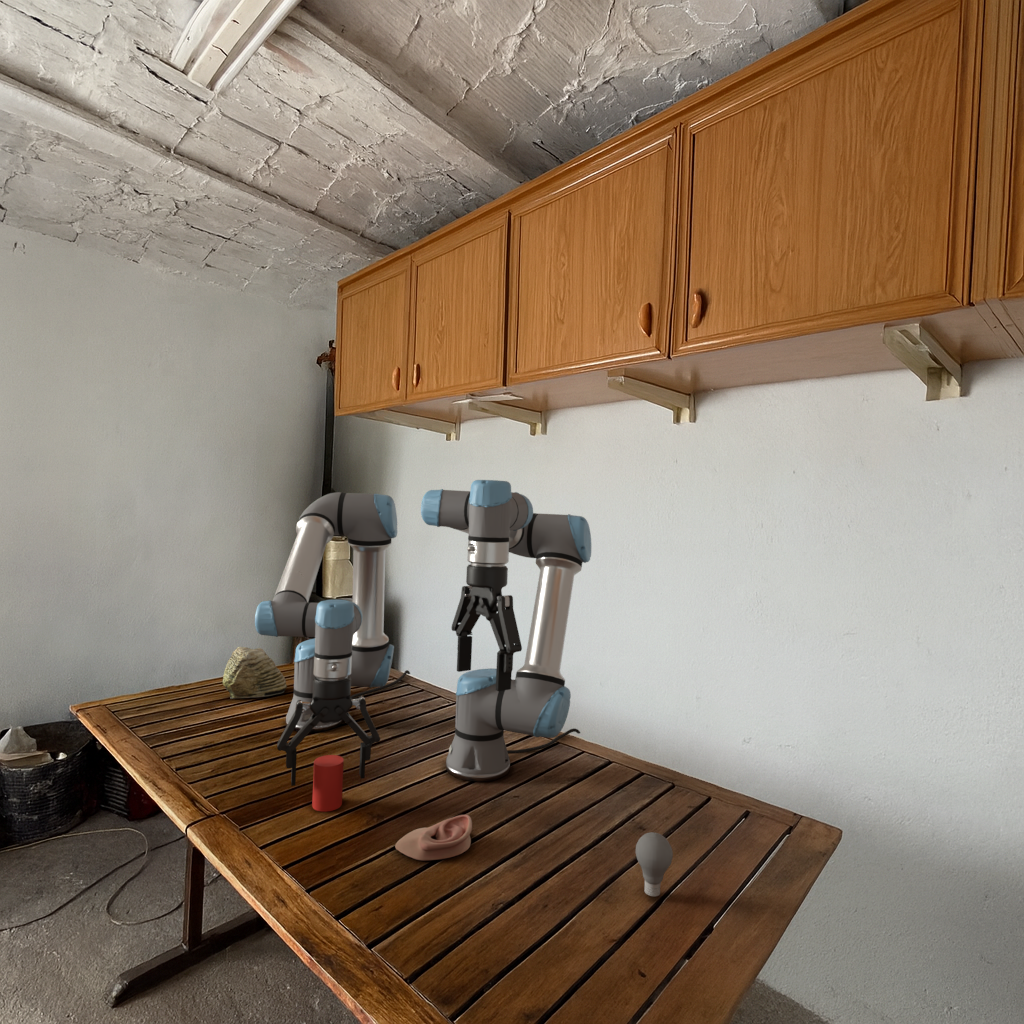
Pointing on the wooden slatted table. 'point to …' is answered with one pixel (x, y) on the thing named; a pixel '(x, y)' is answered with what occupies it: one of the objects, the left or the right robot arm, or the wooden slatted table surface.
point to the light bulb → (653, 860)
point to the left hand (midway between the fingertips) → (328, 779)
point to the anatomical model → (438, 839)
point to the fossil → (252, 674)
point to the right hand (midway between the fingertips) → (482, 679)
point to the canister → (327, 783)
